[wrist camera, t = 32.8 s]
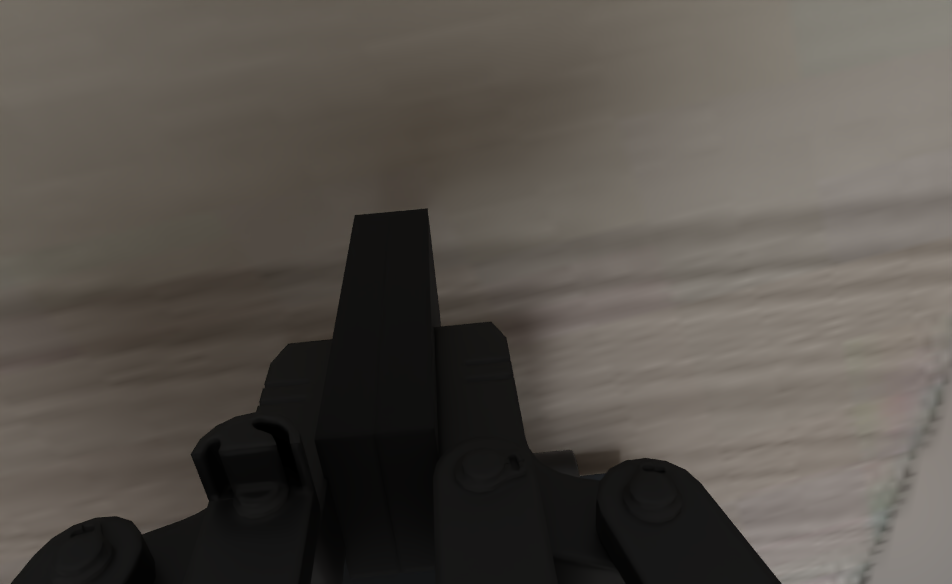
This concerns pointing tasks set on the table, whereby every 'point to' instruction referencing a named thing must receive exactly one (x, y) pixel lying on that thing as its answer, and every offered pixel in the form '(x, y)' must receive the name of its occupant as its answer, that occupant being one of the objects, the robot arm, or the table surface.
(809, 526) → the table surface
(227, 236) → the table surface
